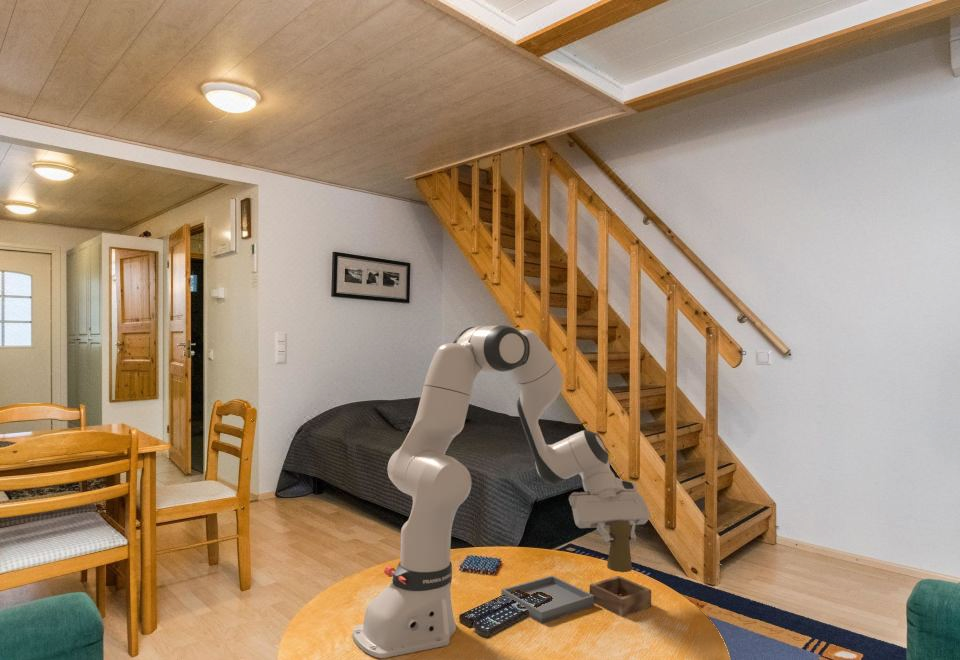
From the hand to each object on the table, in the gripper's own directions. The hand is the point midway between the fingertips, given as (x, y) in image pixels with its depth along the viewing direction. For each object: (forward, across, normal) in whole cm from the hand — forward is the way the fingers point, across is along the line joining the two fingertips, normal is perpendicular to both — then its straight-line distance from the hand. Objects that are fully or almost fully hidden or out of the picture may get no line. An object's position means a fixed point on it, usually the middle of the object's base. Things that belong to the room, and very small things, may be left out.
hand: (621, 540), depth 144 cm
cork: (+4, 0, +5) cm, 7 cm away
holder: (+10, 0, +12) cm, 16 cm away
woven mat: (-11, -26, +35) cm, 44 cm away
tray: (+7, -17, +15) cm, 24 cm away
